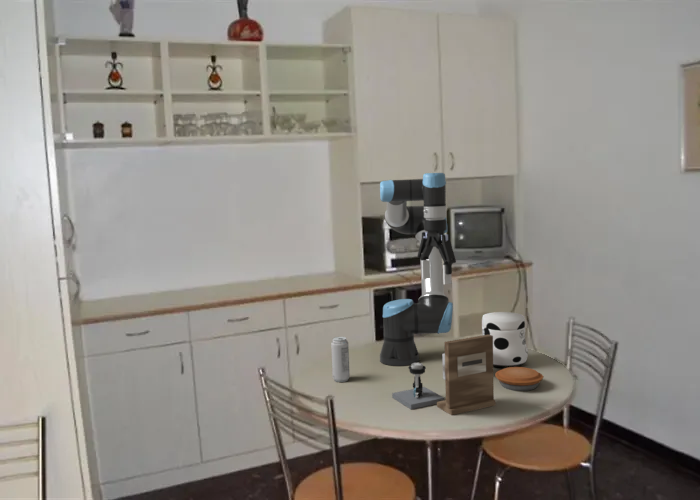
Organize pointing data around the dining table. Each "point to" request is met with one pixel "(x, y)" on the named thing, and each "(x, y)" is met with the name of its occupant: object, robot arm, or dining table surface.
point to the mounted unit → (468, 374)
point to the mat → (422, 401)
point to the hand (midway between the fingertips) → (436, 281)
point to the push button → (417, 378)
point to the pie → (519, 378)
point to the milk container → (506, 338)
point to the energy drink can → (340, 359)
